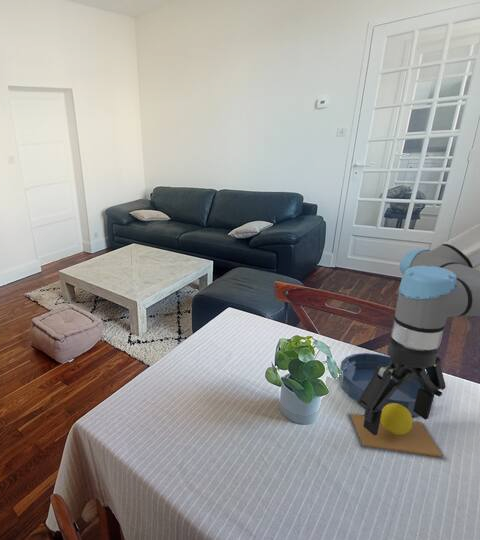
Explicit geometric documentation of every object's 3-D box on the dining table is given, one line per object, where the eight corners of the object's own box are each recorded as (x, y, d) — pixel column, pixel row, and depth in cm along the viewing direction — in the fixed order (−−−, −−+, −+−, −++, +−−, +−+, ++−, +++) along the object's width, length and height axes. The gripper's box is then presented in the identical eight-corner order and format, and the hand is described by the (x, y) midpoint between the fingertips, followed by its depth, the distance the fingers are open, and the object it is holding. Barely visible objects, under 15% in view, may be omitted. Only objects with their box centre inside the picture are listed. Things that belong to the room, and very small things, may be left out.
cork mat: (420, 424, 78) (421, 422, 78) (441, 457, 70) (442, 455, 70) (350, 415, 83) (351, 413, 83) (363, 446, 75) (363, 443, 75)
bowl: (408, 371, 95) (412, 356, 93) (447, 423, 78) (452, 406, 76) (330, 364, 101) (332, 350, 99) (350, 411, 84) (353, 395, 82)
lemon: (380, 419, 80) (386, 392, 77) (410, 431, 76) (417, 403, 73) (375, 434, 77) (380, 406, 74) (406, 447, 73) (413, 418, 70)
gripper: (443, 320, 74) (423, 397, 81) (345, 345, 69) (334, 424, 77) (484, 337, 67) (459, 420, 74) (379, 366, 62) (363, 451, 70)
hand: (395, 422), depth 75 cm, fingers open, 13 cm apart
